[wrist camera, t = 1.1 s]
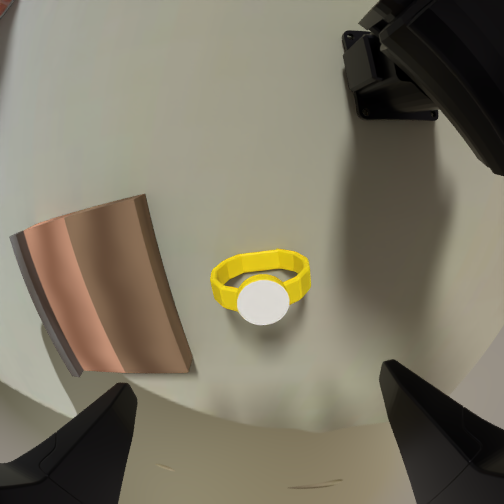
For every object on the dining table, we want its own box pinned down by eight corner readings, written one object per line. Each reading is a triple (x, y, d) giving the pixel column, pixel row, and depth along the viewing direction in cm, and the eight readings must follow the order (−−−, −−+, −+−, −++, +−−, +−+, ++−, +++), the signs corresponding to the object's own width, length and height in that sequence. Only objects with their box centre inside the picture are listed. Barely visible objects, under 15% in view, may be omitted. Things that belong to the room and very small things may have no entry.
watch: (298, 234, 20) (322, 269, 14) (301, 271, 21) (324, 315, 15) (211, 248, 20) (203, 288, 14) (218, 284, 21) (214, 333, 15)
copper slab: (144, 193, 18) (127, 202, 16) (192, 356, 23) (186, 381, 21) (30, 225, 19) (9, 236, 16) (84, 357, 24) (72, 376, 21)
